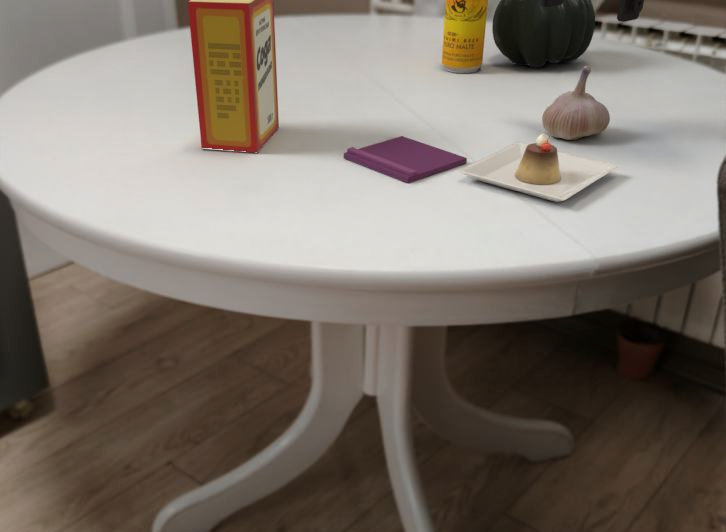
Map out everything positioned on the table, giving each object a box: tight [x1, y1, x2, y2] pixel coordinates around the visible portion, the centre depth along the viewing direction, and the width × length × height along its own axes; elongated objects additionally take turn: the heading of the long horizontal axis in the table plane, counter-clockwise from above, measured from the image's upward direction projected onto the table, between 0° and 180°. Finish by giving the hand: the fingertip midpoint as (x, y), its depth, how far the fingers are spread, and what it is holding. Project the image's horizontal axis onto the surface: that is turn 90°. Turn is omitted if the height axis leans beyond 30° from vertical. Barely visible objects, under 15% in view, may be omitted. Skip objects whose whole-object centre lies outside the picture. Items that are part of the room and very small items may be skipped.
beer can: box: [441, 0, 489, 74], centre depth 118 cm, size 6×6×15 cm
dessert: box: [457, 132, 619, 203], centre depth 82 cm, size 12×12×5 cm
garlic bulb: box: [541, 65, 611, 141], centre depth 93 cm, size 8×7×8 cm
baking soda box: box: [187, 0, 280, 153], centre depth 90 cm, size 10×6×16 cm
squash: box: [491, 0, 596, 68], centre depth 122 cm, size 14×15×15 cm
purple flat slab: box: [343, 135, 468, 184], centre depth 88 cm, size 10×9×1 cm
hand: (588, 12), depth 88 cm, fingers open, 9 cm apart
